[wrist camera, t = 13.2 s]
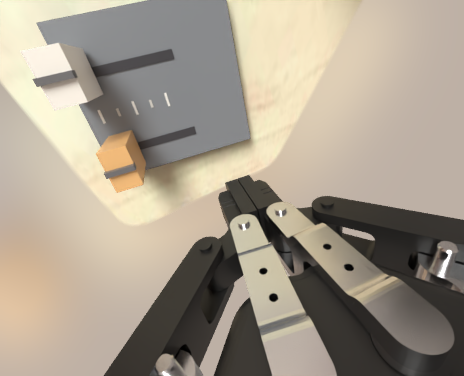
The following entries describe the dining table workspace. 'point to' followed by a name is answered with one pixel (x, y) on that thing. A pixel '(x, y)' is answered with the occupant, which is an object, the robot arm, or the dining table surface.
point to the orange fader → (122, 161)
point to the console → (160, 75)
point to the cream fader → (63, 74)
